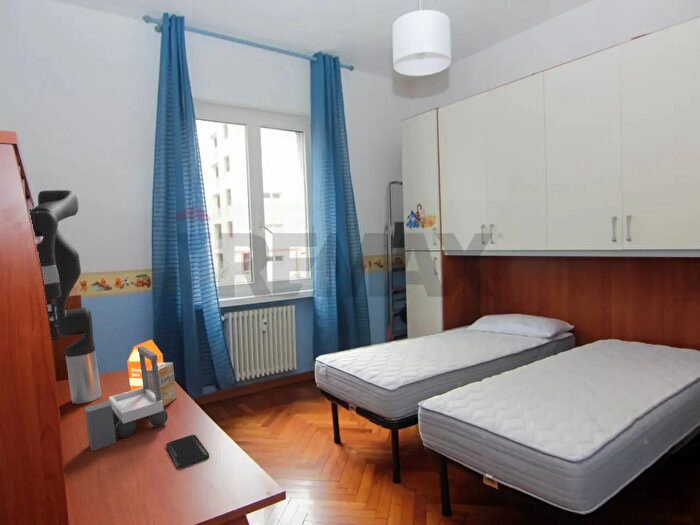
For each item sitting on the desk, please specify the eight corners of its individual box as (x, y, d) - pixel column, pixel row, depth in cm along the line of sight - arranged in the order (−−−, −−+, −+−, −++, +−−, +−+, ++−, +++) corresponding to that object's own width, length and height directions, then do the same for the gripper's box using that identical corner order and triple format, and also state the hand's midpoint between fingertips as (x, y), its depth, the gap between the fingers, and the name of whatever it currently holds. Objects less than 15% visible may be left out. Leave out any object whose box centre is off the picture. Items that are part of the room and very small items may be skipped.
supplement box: (163, 408, 144) (158, 370, 143) (150, 408, 145) (145, 370, 144) (177, 398, 152) (173, 361, 151) (165, 398, 153) (161, 362, 152)
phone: (194, 433, 122) (210, 455, 109) (195, 437, 122) (210, 459, 109) (164, 443, 117) (177, 466, 105) (165, 447, 117) (177, 471, 105)
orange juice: (167, 392, 158) (161, 339, 156) (150, 402, 150) (143, 346, 148) (149, 392, 160) (142, 339, 158) (131, 402, 152) (124, 346, 150)
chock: (89, 445, 121) (84, 407, 120) (113, 437, 125) (108, 400, 124) (92, 451, 118) (86, 412, 117) (116, 442, 122) (111, 405, 121)
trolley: (106, 423, 135) (97, 355, 134) (153, 408, 144) (145, 344, 142) (119, 442, 122) (109, 367, 120) (170, 425, 130) (162, 354, 128)
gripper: (62, 281, 120) (70, 338, 121) (56, 279, 131) (63, 331, 132) (28, 285, 115) (37, 345, 116) (25, 282, 126) (33, 337, 127)
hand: (51, 338), depth 124 cm, fingers open, 8 cm apart
